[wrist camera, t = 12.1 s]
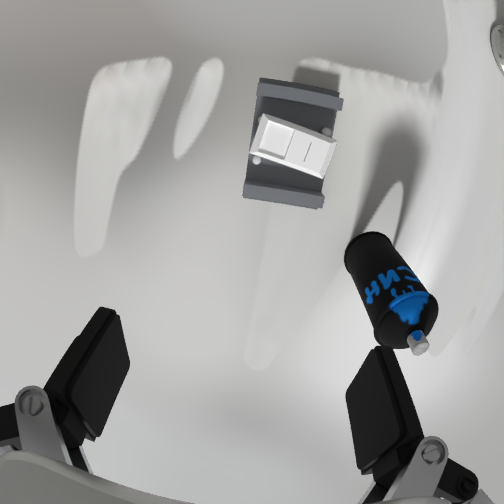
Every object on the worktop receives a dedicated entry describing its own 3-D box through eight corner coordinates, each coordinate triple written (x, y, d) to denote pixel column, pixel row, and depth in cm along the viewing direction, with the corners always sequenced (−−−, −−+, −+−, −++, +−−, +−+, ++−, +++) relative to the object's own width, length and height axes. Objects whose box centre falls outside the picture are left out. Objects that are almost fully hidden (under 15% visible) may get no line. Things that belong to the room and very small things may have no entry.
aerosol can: (396, 267, 42) (452, 356, 24) (351, 285, 44) (387, 384, 26) (386, 223, 38) (456, 304, 21) (337, 242, 40) (379, 339, 23)
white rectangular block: (320, 175, 33) (324, 180, 31) (250, 151, 32) (248, 153, 30) (334, 139, 31) (339, 141, 29) (263, 113, 30) (262, 112, 28)
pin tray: (260, 78, 31) (259, 74, 27) (337, 93, 31) (344, 91, 28) (243, 195, 38) (241, 203, 35) (316, 207, 38) (320, 215, 35)
